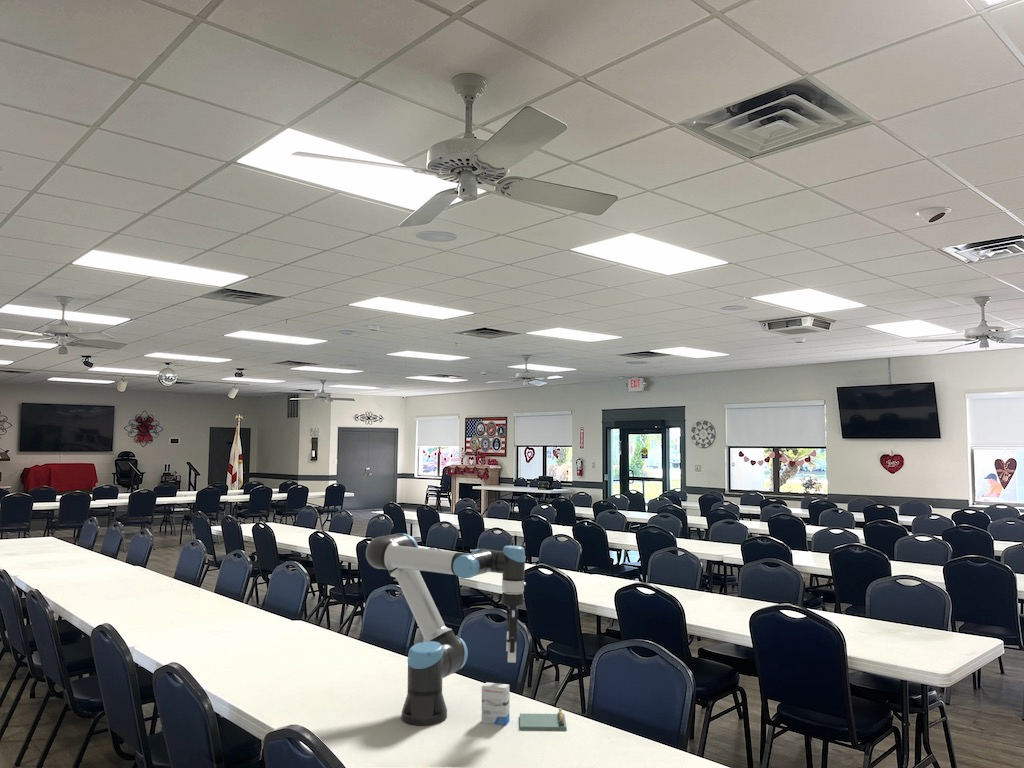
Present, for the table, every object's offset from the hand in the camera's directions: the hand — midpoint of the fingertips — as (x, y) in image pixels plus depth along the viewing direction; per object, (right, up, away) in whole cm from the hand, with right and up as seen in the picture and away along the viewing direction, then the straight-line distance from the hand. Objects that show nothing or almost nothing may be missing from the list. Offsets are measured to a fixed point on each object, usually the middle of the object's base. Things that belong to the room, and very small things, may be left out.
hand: (510, 656), depth 244 cm
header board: (+10, -19, -7) cm, 23 cm away
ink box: (-5, -20, -6) cm, 21 cm away
